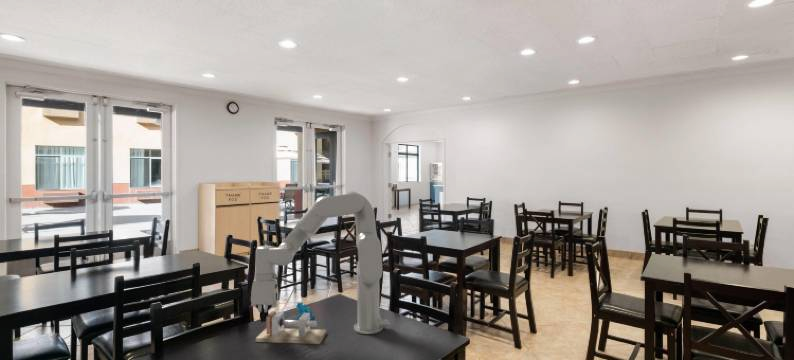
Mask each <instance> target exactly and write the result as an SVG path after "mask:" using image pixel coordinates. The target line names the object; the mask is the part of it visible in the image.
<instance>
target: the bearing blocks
mask: <svg viewBox="0 0 794 360" xmlns="http://www.w3.org/2000/svg"><path fill="white" fill-rule="evenodd" d="M280 320H285V312H283V311H282V312H281V311H279V312H276V315H275V316H274V317H273V318H272V337H279V335H280V334H281V333H282V332H283V331H284V329H285V326H280ZM298 320H299V326H298V329H299V338H305V337H306V336H307V334H308V333H309V331H310V329H311V326H306V321H307V320H308V321H311V320H310V313H303V315H302V316H301V317H300V318H299V319H298Z"/></svg>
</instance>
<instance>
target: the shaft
mask: <svg viewBox="0 0 794 360" xmlns="http://www.w3.org/2000/svg"><path fill="white" fill-rule="evenodd" d="M276 314H277V312H276V310H272V311H271V312H270V313H268V316H267V317H266V321H265V322H266V328H267V334H271V333H272V318H273V317H274V316H275V315H276ZM317 322H318V320H310V321H308V320H307V321H306V326H310V327H317V325H318V323H317ZM280 326H284V327H288V326H289V327H299V319H284V320H280Z"/></svg>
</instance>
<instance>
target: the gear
mask: <svg viewBox="0 0 794 360" xmlns="http://www.w3.org/2000/svg"><path fill="white" fill-rule="evenodd" d="M295 307H296V308H297V312H299V314H298V316H297V317H296V320H299V318H300V317H301V316H302V315H303V313H310V321H313V320H314V318H313V317H314V315H313V312H312V311H311V307H310V306H307V305H306V304H304V303H303V302H297V303H296V306H295Z"/></svg>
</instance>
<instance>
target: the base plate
mask: <svg viewBox="0 0 794 360" xmlns="http://www.w3.org/2000/svg"><path fill="white" fill-rule="evenodd" d="M326 334H327V329H317V328H315V329H314V328H313V329H311V328H310V331H309V333H308V334H307V336H306V337H305V338H299V328H284V331H283V332H282V333H281V334H280V335H279V337H272V333H271V334H267V327H265V328H264V329H263V331H261V332H260V333H259V334H258V335H257V336H256V337H255V342H256V343H276V344H277V343H279V344H280V343H281V344H282V343H283V344H285V343H286V344H314V345H316V344H317V345H319V344H321V343H322V341H323V339H324V338H325V336H326Z"/></svg>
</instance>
